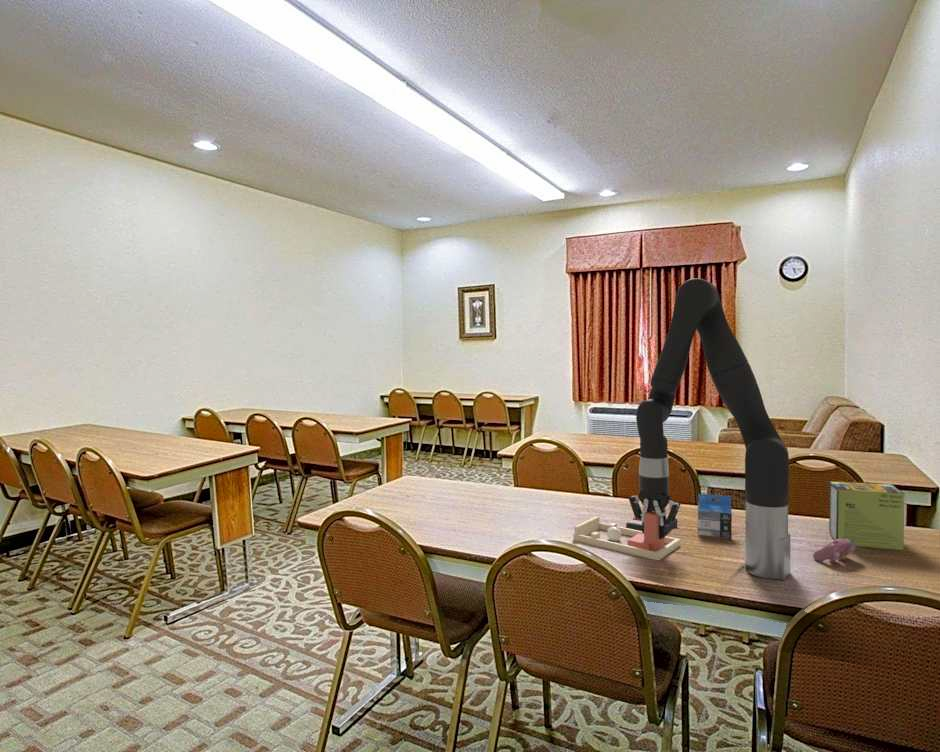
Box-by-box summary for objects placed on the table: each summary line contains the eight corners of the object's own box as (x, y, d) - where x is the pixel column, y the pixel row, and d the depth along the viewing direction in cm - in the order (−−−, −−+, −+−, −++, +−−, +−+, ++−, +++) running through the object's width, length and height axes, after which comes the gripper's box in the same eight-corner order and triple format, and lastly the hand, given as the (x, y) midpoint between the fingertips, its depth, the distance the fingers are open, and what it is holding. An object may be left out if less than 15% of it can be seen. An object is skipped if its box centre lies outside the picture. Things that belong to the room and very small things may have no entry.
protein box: (904, 550, 152) (905, 493, 151) (837, 545, 157) (838, 489, 156) (891, 538, 162) (892, 484, 161) (828, 533, 167) (828, 480, 166)
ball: (624, 540, 161) (623, 526, 161) (617, 544, 158) (617, 530, 158) (611, 537, 164) (611, 523, 164) (604, 541, 161) (604, 527, 161)
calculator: (677, 516, 175) (663, 526, 163) (677, 530, 175) (663, 541, 163) (642, 511, 182) (625, 520, 169) (642, 524, 182) (625, 535, 169)
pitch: (680, 550, 156) (680, 531, 155) (658, 565, 145) (658, 546, 145) (597, 531, 172) (597, 515, 172) (573, 544, 162) (573, 527, 161)
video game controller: (825, 570, 144) (837, 550, 141) (809, 557, 147) (822, 536, 144) (850, 563, 148) (863, 543, 145) (834, 550, 151) (847, 531, 148)
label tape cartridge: (697, 539, 164) (697, 496, 163) (697, 535, 168) (697, 493, 167) (731, 542, 161) (731, 499, 160) (730, 538, 164) (730, 495, 164)
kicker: (666, 546, 155) (665, 510, 154) (655, 554, 149) (655, 516, 149) (639, 540, 160) (638, 505, 159) (627, 547, 154) (627, 511, 154)
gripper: (685, 474, 150) (685, 538, 151) (635, 467, 160) (635, 528, 160) (674, 479, 145) (674, 546, 145) (622, 472, 154) (623, 535, 155)
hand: (654, 536), depth 153 cm, fingers closed on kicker, 3 cm apart
